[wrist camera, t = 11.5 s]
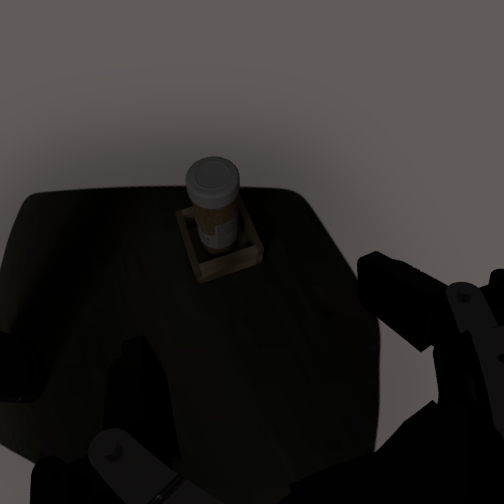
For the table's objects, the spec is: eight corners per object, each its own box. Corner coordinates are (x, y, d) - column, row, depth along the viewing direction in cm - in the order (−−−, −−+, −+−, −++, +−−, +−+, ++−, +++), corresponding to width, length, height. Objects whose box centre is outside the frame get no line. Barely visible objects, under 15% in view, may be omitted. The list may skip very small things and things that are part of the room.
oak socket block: (198, 284, 34) (194, 272, 30) (180, 228, 37) (175, 212, 33) (261, 262, 35) (264, 248, 32) (238, 209, 38) (238, 192, 34)
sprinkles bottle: (194, 239, 35) (175, 168, 23) (226, 221, 37) (222, 147, 24) (213, 268, 34) (200, 205, 22) (245, 249, 35) (250, 181, 23)
